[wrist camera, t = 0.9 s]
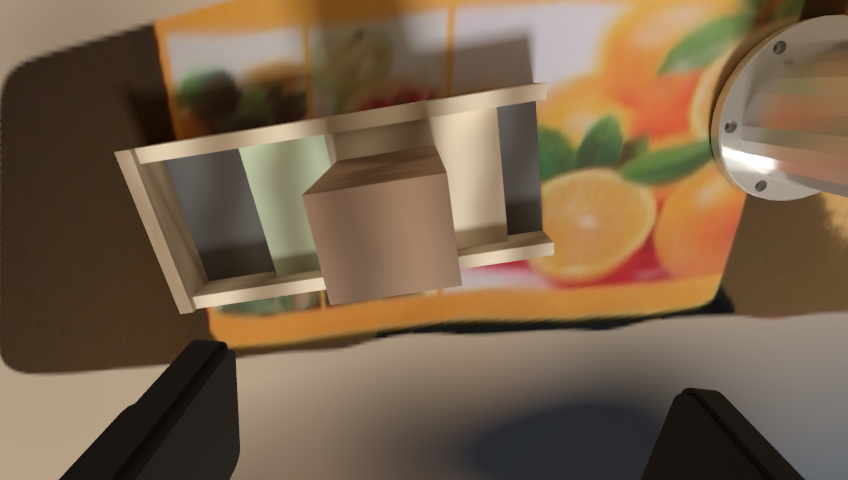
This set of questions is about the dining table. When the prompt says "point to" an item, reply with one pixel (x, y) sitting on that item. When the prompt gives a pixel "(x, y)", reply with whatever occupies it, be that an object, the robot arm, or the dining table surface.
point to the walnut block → (384, 226)
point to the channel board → (304, 164)
